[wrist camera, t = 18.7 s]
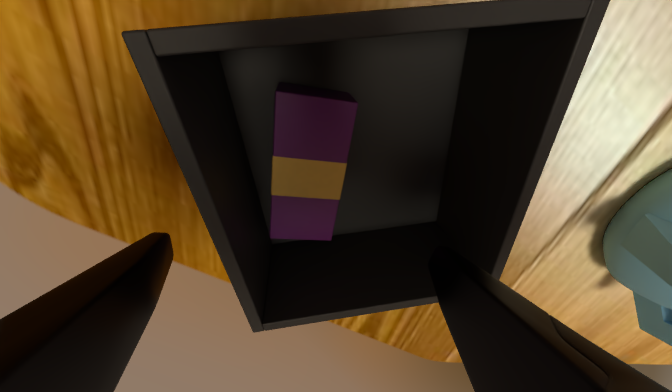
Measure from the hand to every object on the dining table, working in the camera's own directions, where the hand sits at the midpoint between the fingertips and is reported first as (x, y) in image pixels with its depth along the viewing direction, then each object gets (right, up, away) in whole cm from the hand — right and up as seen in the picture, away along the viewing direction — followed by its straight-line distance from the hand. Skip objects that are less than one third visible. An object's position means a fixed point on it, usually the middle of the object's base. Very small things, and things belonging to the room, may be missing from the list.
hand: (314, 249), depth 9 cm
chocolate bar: (-1, +4, +6) cm, 8 cm away
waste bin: (+2, +5, +7) cm, 8 cm away
